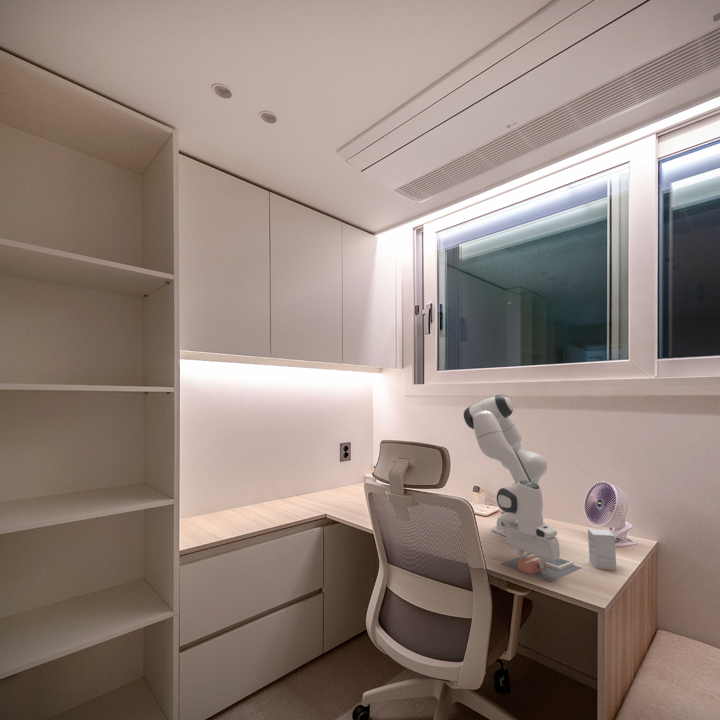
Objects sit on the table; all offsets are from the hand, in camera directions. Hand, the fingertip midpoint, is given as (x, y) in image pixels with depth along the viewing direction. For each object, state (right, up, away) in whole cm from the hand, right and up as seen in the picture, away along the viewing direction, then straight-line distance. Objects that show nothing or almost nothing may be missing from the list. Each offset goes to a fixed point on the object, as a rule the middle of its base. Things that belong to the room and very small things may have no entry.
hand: (531, 565), depth 156 cm
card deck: (0, -1, 0) cm, 1 cm away
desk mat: (+5, -2, +3) cm, 6 cm away
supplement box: (+28, -3, +4) cm, 29 cm away
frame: (+10, -2, +6) cm, 12 cm away
